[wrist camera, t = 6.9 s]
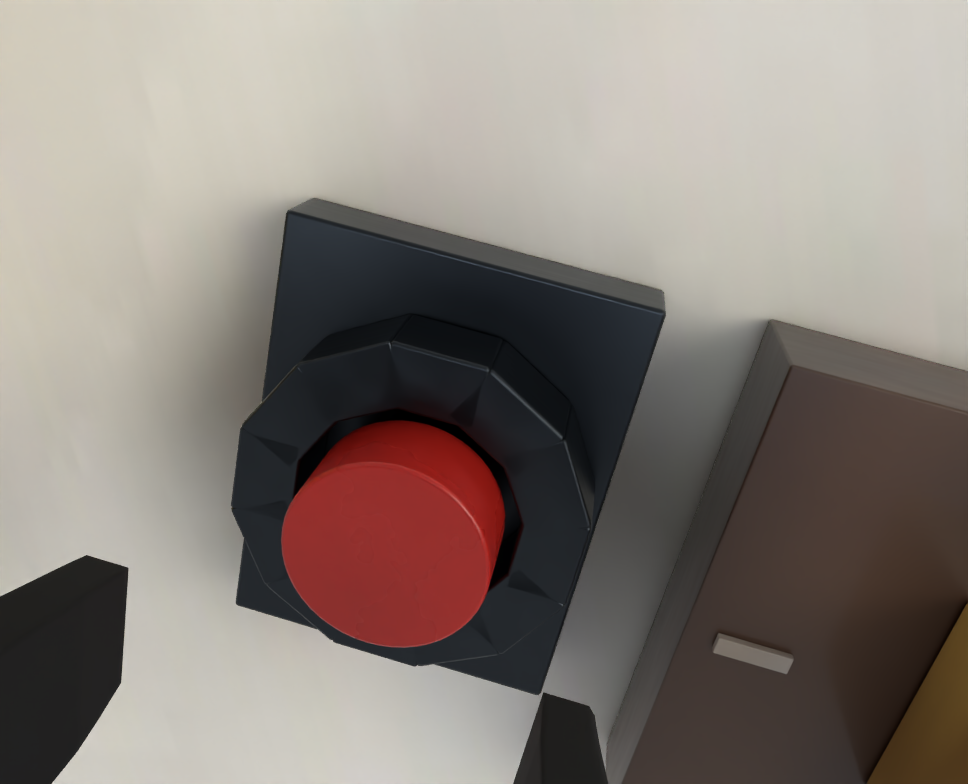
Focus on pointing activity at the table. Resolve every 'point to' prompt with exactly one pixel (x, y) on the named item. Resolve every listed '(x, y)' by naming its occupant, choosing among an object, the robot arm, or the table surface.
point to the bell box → (447, 408)
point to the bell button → (395, 534)
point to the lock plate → (807, 574)
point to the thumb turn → (934, 723)
